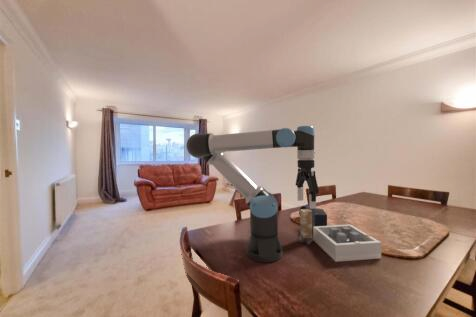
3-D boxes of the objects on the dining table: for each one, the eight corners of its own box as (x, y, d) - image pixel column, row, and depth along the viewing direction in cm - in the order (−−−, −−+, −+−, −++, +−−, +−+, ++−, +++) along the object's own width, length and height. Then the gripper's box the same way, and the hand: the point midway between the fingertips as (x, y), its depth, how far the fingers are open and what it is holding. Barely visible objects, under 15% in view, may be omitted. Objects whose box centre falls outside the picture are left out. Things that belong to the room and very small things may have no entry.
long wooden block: (302, 244, 93) (302, 212, 92) (297, 238, 99) (297, 208, 98) (315, 243, 93) (315, 212, 92) (309, 238, 99) (309, 208, 98)
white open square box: (335, 261, 78) (335, 244, 78) (313, 239, 97) (313, 225, 97) (381, 258, 80) (381, 241, 79) (350, 237, 99) (350, 223, 98)
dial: (340, 253, 80) (340, 239, 80) (322, 237, 94) (322, 225, 94) (370, 250, 81) (370, 237, 81) (348, 235, 95) (348, 224, 95)
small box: (327, 235, 102) (327, 214, 101) (314, 234, 103) (314, 214, 103) (323, 227, 112) (323, 208, 112) (311, 226, 114) (311, 208, 113)
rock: (295, 212, 130) (303, 199, 128) (307, 218, 133) (315, 205, 131) (303, 222, 119) (312, 208, 118) (316, 227, 122) (325, 214, 121)
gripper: (327, 160, 82) (327, 211, 83) (302, 157, 107) (303, 197, 108) (309, 161, 81) (310, 212, 82) (288, 158, 106) (289, 198, 107)
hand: (306, 204), depth 95 cm, fingers open, 13 cm apart
